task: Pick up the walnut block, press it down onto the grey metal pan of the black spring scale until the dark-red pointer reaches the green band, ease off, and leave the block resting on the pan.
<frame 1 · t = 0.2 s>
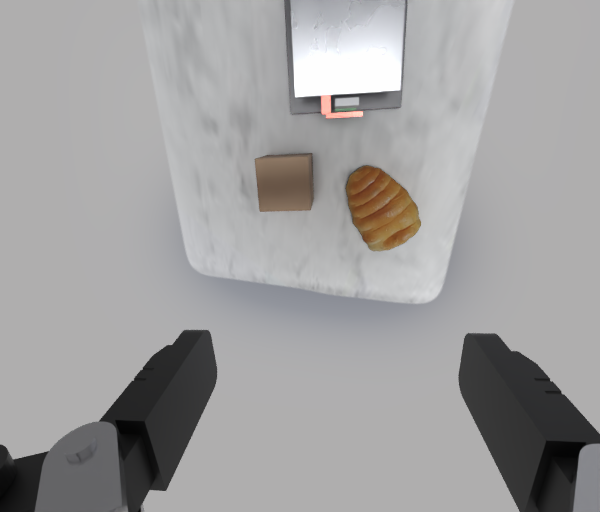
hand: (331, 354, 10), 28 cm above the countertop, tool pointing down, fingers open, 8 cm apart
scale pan: (346, 48, 27), point 4 cm above the countertop, slide at 0.4 cm
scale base: (344, 49, 30), on the countertop
pastry: (378, 210, 36), on the countertop
walnut block: (290, 177, 35), on the countertop
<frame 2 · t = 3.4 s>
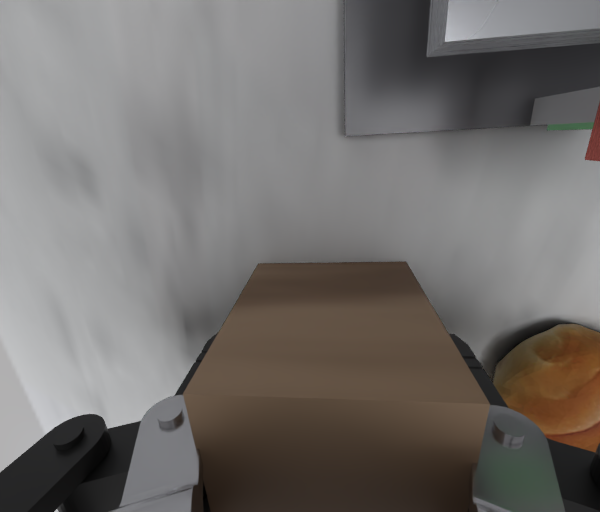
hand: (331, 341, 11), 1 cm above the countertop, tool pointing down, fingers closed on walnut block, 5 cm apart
pastry: (568, 420, 13), on the countertop
walnut block: (331, 324, 12), on the countertop, touching gripper
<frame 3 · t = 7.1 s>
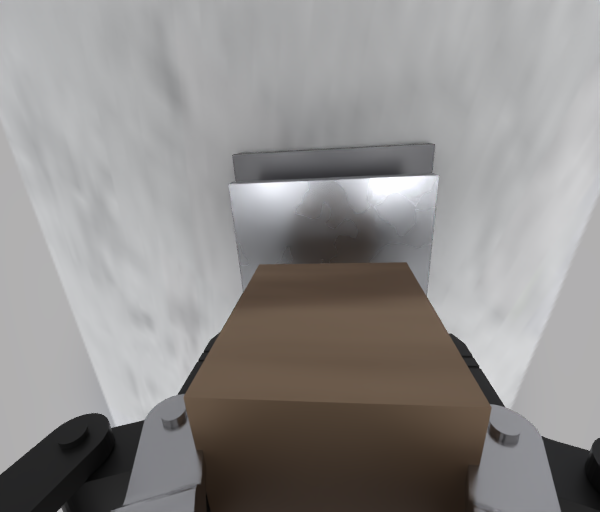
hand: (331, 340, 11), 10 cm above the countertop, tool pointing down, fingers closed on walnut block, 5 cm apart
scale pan: (332, 283, 16), point 4 cm above the countertop, slide at 0.4 cm
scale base: (332, 239, 20), on the countertop
walnut block: (332, 326, 12), point 9 cm above the countertop, touching gripper
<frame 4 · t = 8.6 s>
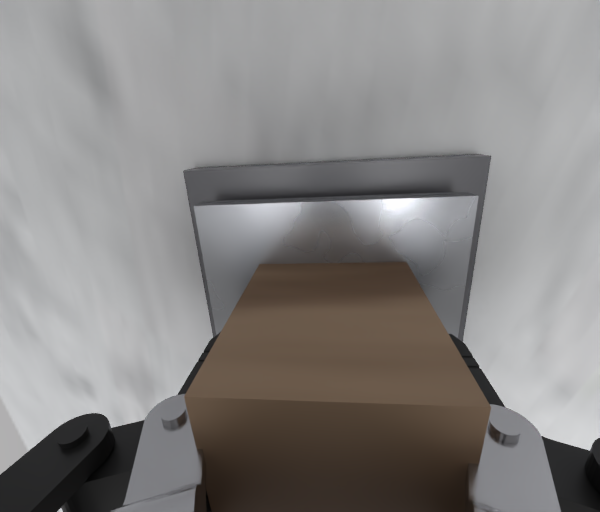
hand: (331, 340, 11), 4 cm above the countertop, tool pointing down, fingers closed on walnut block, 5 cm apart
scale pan: (332, 329, 13), point 2 cm above the countertop, slide at 2.9 cm, touching walnut block
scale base: (331, 288, 14), on the countertop
walnut block: (332, 325, 12), point 3 cm above the countertop, touching gripper, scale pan
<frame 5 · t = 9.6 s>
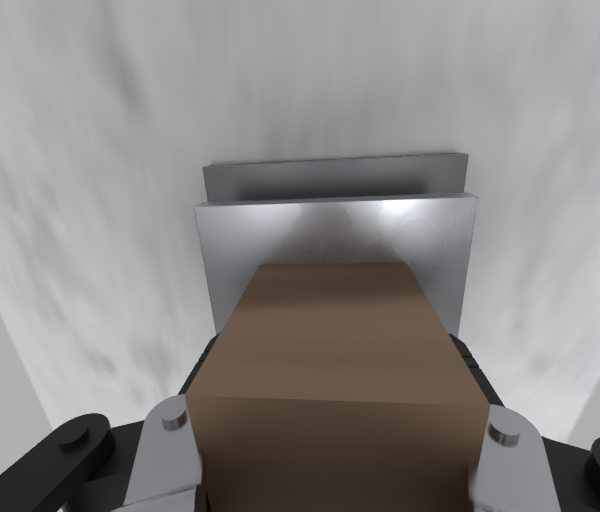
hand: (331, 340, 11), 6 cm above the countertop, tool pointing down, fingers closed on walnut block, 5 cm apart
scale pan: (332, 329, 13), point 4 cm above the countertop, slide at 1.0 cm, touching walnut block
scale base: (331, 272, 16), on the countertop
walnut block: (332, 326, 12), point 5 cm above the countertop, touching gripper, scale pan
when the fingers open (6 cm above the countertop, at t = 10.5 s): walnut block stays where it is, resting on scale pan.
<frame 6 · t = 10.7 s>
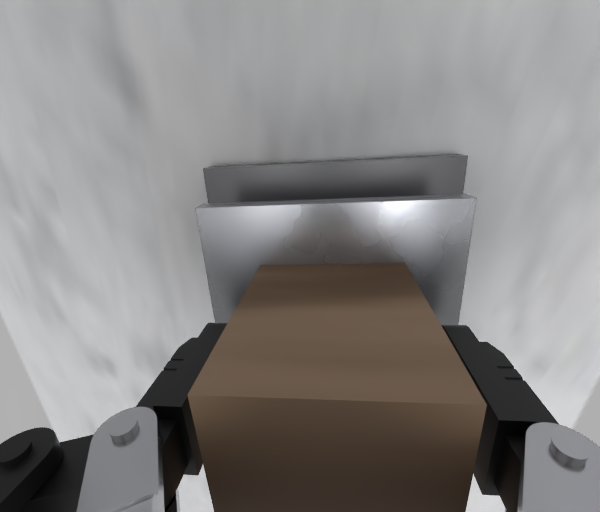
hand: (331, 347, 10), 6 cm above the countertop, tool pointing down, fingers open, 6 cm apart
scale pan: (332, 329, 13), point 4 cm above the countertop, slide at 1.1 cm, touching walnut block
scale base: (331, 273, 16), on the countertop
walnut block: (332, 326, 12), point 5 cm above the countertop, touching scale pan
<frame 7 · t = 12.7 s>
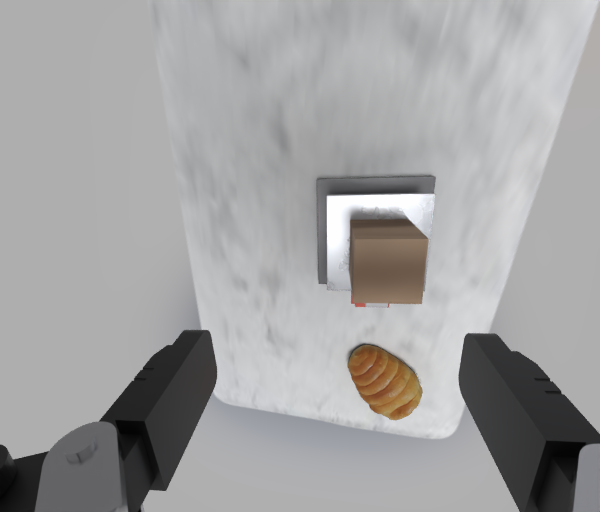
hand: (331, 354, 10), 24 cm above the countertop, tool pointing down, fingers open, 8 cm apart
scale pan: (375, 251, 29), point 4 cm above the countertop, slide at 1.1 cm, touching walnut block
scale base: (371, 231, 32), on the countertop
pastry: (381, 374, 39), on the countertop
walnut block: (377, 246, 28), point 5 cm above the countertop, touching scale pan
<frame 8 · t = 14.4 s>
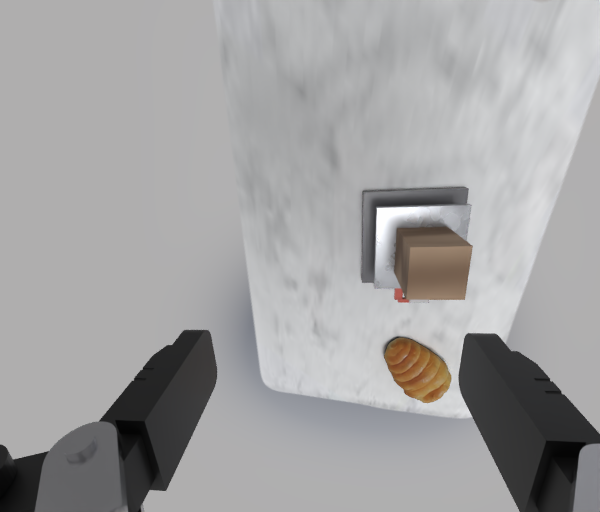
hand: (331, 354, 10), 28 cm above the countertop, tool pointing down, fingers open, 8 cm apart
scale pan: (416, 254, 34), point 4 cm above the countertop, slide at 1.1 cm, touching walnut block
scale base: (409, 236, 37), on the countertop
pastry: (413, 363, 44), on the countertop
walnut block: (420, 250, 33), point 5 cm above the countertop, touching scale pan
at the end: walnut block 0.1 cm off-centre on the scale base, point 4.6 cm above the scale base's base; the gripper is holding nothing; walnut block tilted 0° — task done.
